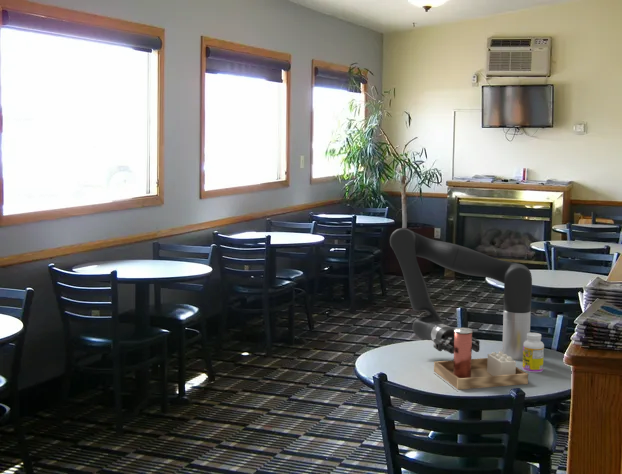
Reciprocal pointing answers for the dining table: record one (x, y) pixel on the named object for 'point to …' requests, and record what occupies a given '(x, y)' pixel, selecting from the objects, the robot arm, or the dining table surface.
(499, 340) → the dining table surface
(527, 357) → the supplement bottle
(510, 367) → the white toy brick
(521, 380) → the tray
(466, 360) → the coffee tin
